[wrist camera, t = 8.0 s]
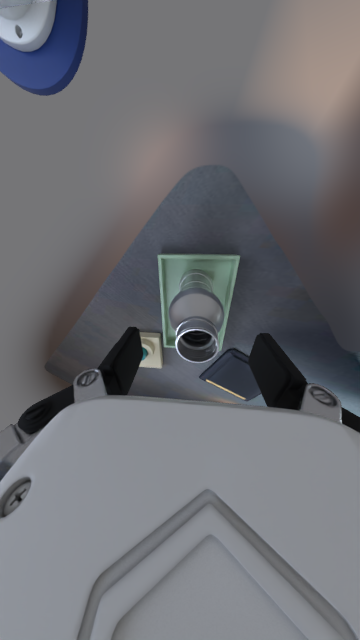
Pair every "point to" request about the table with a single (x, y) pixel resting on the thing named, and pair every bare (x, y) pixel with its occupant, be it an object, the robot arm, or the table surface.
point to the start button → (144, 353)
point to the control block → (152, 350)
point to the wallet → (233, 375)
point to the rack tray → (176, 265)
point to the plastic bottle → (196, 317)
